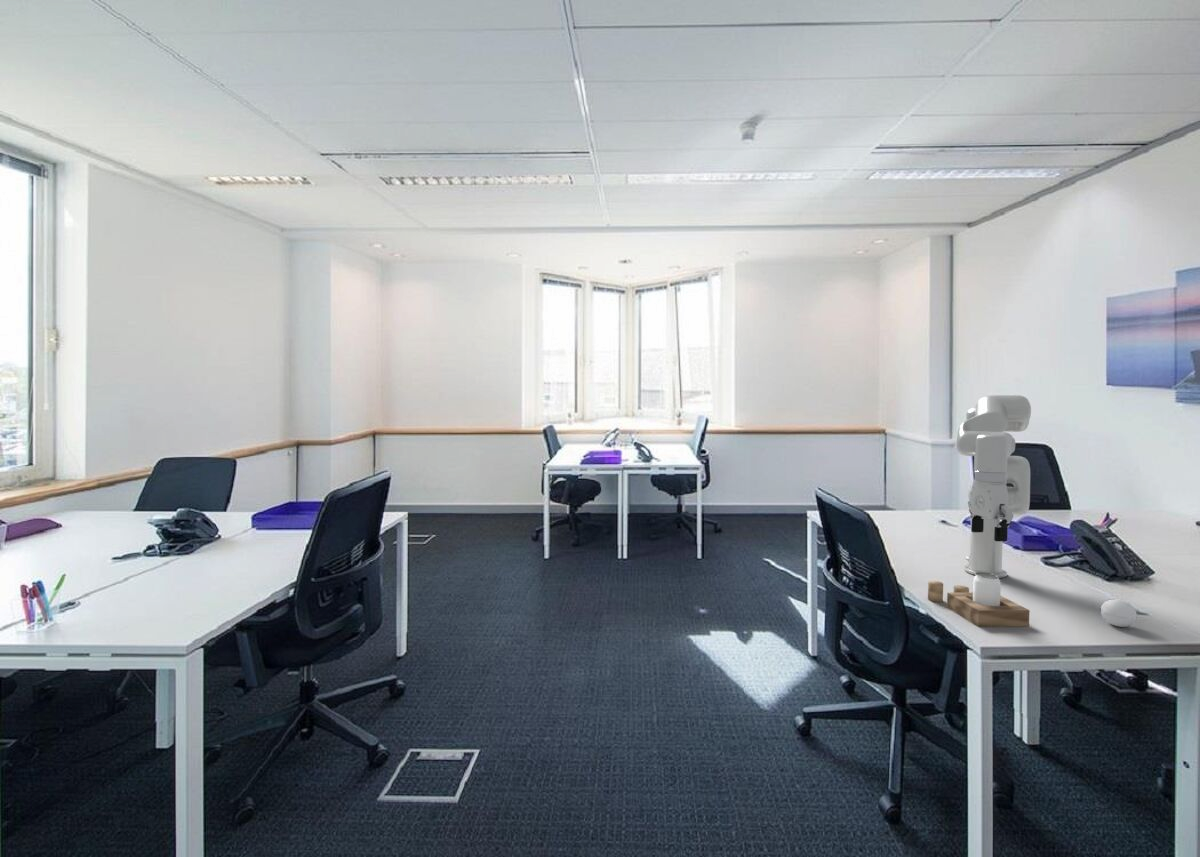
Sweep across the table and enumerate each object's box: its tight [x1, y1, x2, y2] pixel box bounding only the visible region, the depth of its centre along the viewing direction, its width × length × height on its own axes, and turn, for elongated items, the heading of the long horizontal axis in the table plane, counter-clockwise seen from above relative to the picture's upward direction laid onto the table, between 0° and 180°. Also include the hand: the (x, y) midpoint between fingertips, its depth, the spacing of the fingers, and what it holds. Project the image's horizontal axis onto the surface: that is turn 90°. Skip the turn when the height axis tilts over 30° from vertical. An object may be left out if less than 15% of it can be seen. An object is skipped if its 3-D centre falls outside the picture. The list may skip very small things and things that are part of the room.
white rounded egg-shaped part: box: [1100, 598, 1138, 628], centre depth 153 cm, size 10×7×7 cm
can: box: [972, 572, 1002, 606], centre depth 161 cm, size 6×6×12 cm
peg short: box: [953, 584, 970, 593], centre depth 174 cm, size 4×4×4 cm
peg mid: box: [927, 580, 944, 603], centre depth 174 cm, size 4×4×6 cm
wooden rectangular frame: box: [946, 591, 1031, 627], centre depth 161 cm, size 14×14×4 cm
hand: (988, 536), depth 160 cm, fingers open, 9 cm apart
